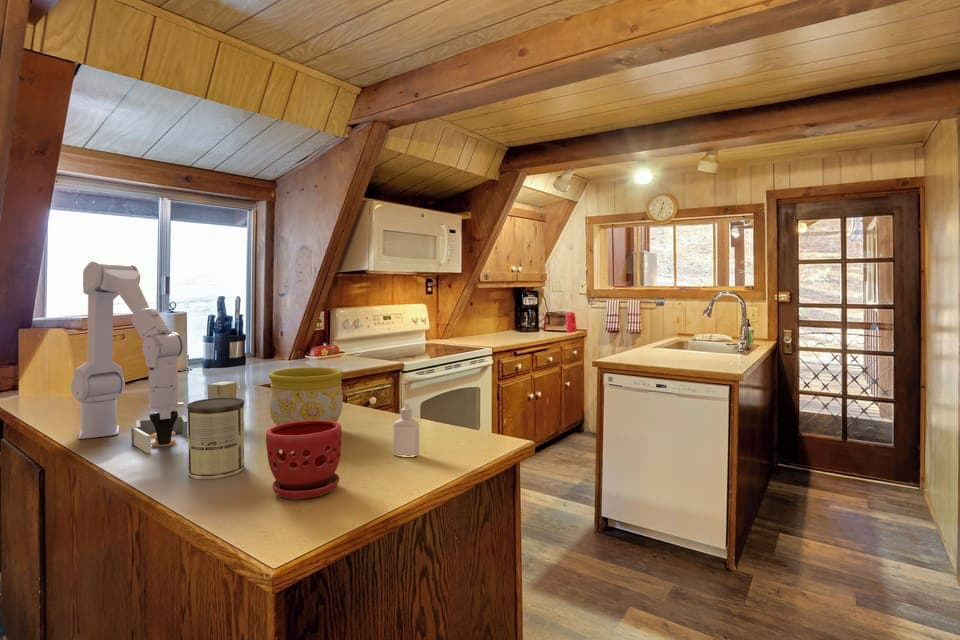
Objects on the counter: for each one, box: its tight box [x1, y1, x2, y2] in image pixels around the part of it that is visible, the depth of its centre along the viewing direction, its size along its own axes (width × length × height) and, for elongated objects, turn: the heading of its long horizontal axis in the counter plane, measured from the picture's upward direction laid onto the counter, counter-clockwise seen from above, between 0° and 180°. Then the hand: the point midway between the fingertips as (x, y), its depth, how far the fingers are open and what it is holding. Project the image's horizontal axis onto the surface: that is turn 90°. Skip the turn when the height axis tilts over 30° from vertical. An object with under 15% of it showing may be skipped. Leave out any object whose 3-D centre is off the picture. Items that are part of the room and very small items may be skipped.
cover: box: [130, 426, 152, 454], centre depth 119 cm, size 1×11×4 cm, turn 49°
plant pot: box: [265, 420, 343, 500], centre depth 94 cm, size 13×13×12 cm
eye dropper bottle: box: [393, 402, 420, 456], centre depth 116 cm, size 4×6×12 cm
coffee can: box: [186, 397, 246, 480], centre depth 104 cm, size 10×10×14 cm
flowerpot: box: [268, 366, 344, 426], centre depth 132 cm, size 18×18×16 cm
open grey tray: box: [135, 415, 188, 439], centre depth 129 cm, size 8×11×4 cm
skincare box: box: [207, 380, 237, 399], centre depth 138 cm, size 6×4×12 cm
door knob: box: [150, 431, 176, 447], centre depth 123 cm, size 5×5×2 cm
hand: (164, 443), depth 120 cm, fingers closed
